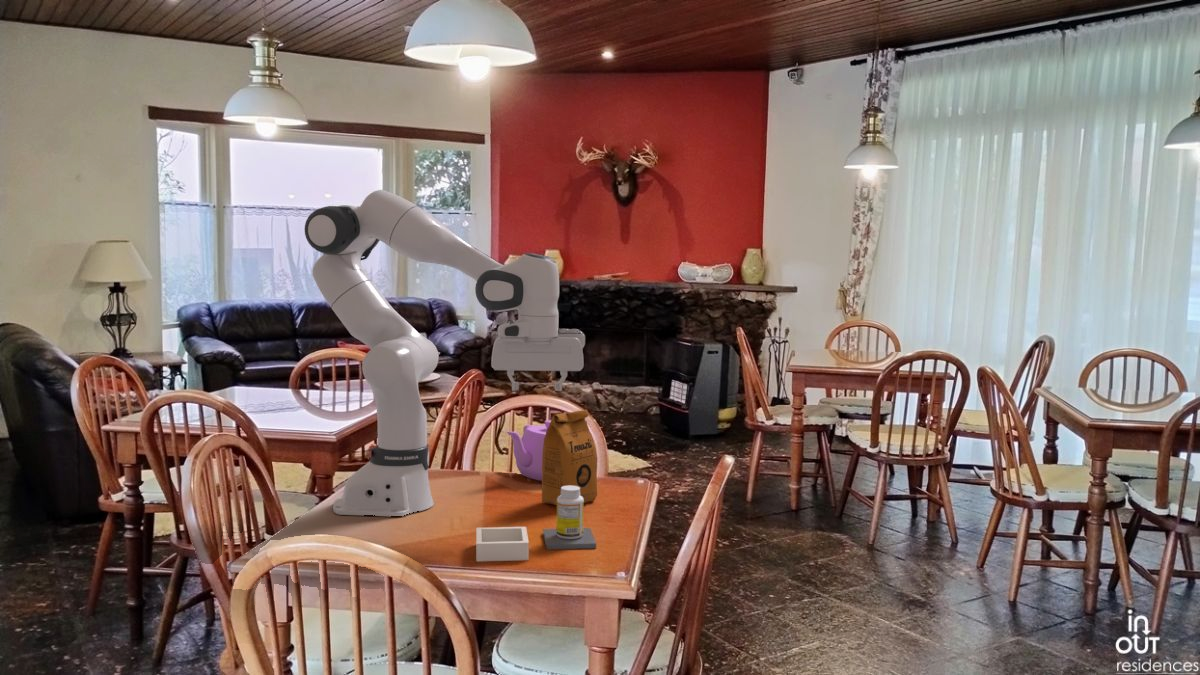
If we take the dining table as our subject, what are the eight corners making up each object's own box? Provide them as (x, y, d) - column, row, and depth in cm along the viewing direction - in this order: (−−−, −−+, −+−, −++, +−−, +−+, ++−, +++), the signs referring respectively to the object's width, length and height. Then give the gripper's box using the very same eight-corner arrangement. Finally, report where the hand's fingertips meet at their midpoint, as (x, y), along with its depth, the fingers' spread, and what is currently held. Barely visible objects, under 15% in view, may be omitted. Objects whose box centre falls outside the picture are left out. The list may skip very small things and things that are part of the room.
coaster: (546, 549, 180) (546, 544, 180) (543, 533, 190) (543, 529, 190) (596, 548, 182) (596, 543, 182) (590, 532, 192) (590, 528, 192)
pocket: (476, 561, 173) (476, 543, 172) (476, 544, 183) (476, 527, 182) (528, 560, 174) (528, 542, 174) (525, 543, 184) (525, 526, 184)
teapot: (548, 463, 253) (549, 410, 251) (595, 479, 236) (597, 422, 235) (479, 475, 238) (479, 419, 237) (524, 492, 222) (524, 432, 221)
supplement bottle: (568, 530, 190) (569, 482, 189) (588, 536, 186) (589, 487, 185) (550, 536, 186) (551, 487, 185) (570, 542, 182) (571, 492, 181)
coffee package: (603, 502, 215) (605, 411, 212) (562, 512, 206) (564, 417, 204) (575, 493, 222) (577, 405, 220) (536, 502, 214) (537, 411, 211)
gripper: (583, 327, 201) (582, 388, 203) (491, 326, 199) (490, 388, 200) (587, 330, 195) (585, 393, 196) (492, 328, 192) (491, 392, 194)
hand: (536, 390), depth 198 cm, fingers open, 8 cm apart
